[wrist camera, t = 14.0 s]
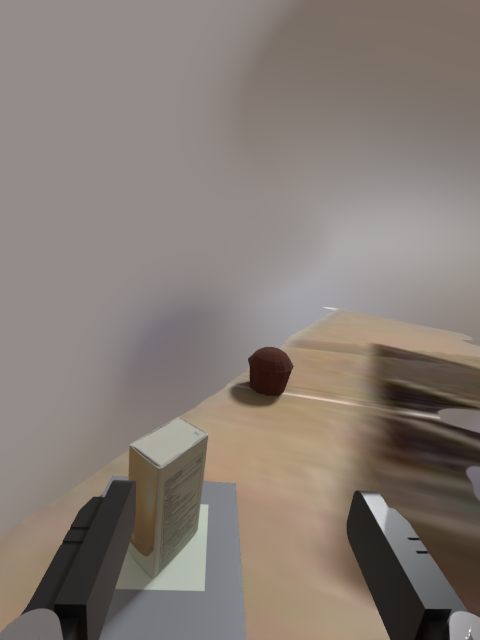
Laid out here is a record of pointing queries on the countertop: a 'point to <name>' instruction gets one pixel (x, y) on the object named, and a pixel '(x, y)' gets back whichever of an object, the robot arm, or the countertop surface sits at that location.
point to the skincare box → (166, 491)
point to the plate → (186, 582)
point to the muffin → (269, 370)
